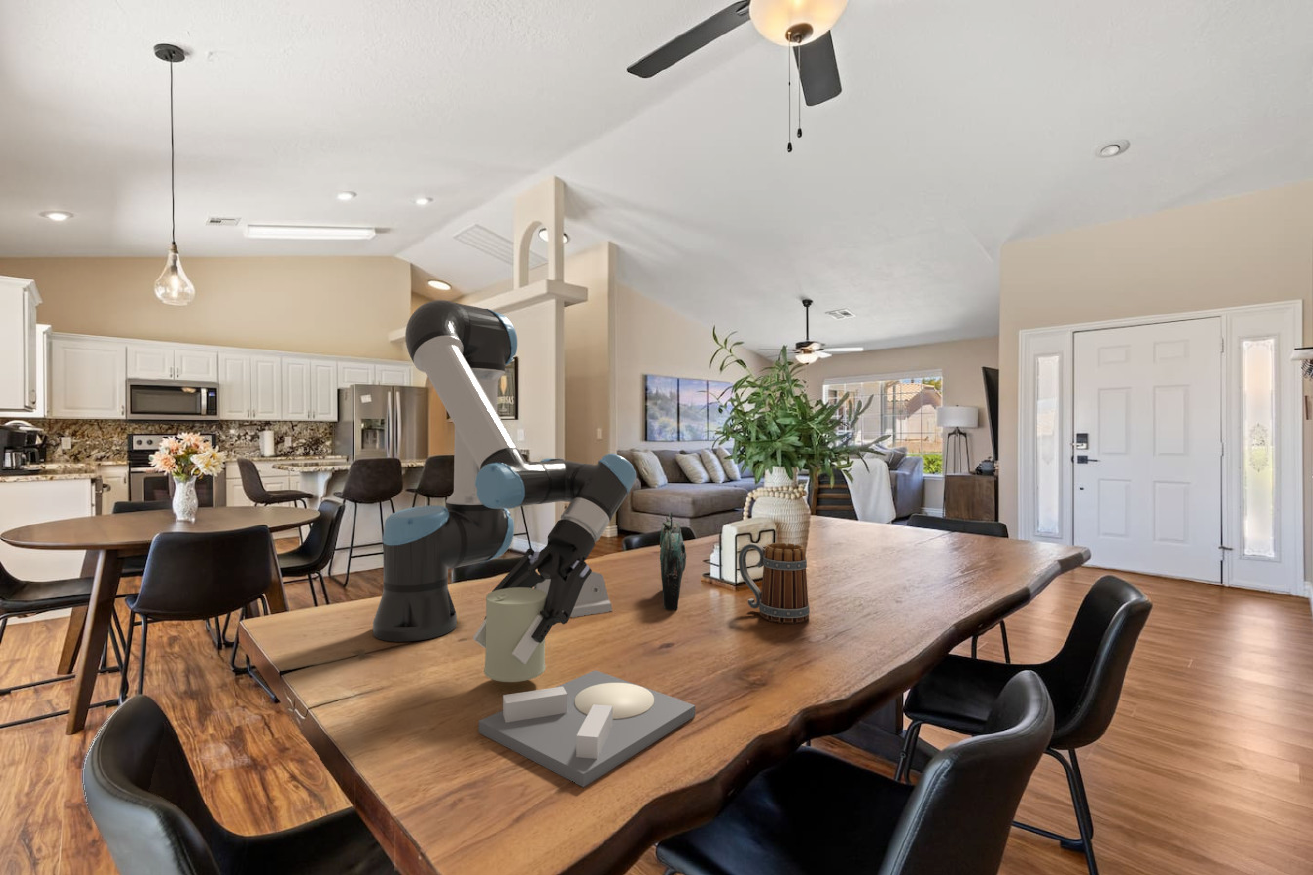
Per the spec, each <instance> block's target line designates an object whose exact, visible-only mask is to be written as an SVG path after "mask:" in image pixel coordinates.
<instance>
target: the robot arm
mask: <svg viewBox="0 0 1313 875" xmlns="http://www.w3.org/2000/svg"><path fill="white" fill-rule="evenodd" d="M404 338H405V340H404V341H405V345H406V349H407V352H408V355H409V357H410V359H411V361H412V363H413V365H414V366H415V368H416V369H417V370H418V371H419V372H423V373H425V374H426V376H427V379H428V380H429V381H430V383H431V384H432V386H433V389H434V390H435V392H436V394H437V396H438V398H439V399H440V402H441V403H442V405H443V407H444V409H445V411H446V412H447V413H448V416H449V418H450V419H451V421H452V423H453V425H454V457H453V458H454V466H453V468H454V469H453V470H454V471H453V492H452V494H451V495H450V496H449V497H448V498H447V499H446V500H445V501H446V502H445V506H444V505H439V504H438V505H436V504H435V505H432V504H431V505H424V506H413V507H409V508H405V509H402V510H398V511H395V512H393V513H391V514H390V515H389V516H388V517H387V518H386V519H385V521H384V528H383V535H382V542H383V589H382V590H383V592H382V595H381V598H380V601H379V604H378V608H377V610H376V612H375V616H374V619H373V622H372V635H373V636H374V637H375V638H376V639H379V640H382V641H386V642H399V643H401V642H402V643H403V642H407V643H408V642H417V641H424V640H429V639H435V638H438V637H441V636H443V635H447V634H448V633H451V632H452V631H454V630H455V629H456V627H457V625H458V624H457V623H458V620H457V617H458V615H457V612H456V607H455V605H454V601H453V599H452V596H451V593H450V591H449V586H448V585H449V584H448V582H449V581H448V577H449V570H450V569H456V568H460V567H465V566H469V565H475V564H484V563H487V562H490V561H491V560H494V559H498V558H500V557H502V556H503V555H504V554H505V553H506V552H507V551H508V549H509V548H510V547H511V544H512V542H513V539H514V533H515V523H514V519H513V517H511V515H512V514H511V511H509V510H511V509H514V508H518V507H523V506H531V505H542V504H543V505H544V504H550V503H560V502H566V503H567V502H568V503H569V504H568V505H567V507H566V508H565V510H564V511H563V513H562V514H561V515H560V520H558V521H557V522H556V523H555V524H554V526H553V528H552V529H551V530H550V531H549V533H548V536H547V544H546V546H544V547H543V549H541V550H540V551H534V549H533V548H532V547H529V548H528V549H527V550H526V551H525V553H524V554H523V556H522V558H521V559H520V560H519V561H518V562H517V563H516V565H514V567H513V568H512V569H511V570H510V571H509V572H508V573H507V574H506V575H505V576H504V578H503V579H502V580H501V581H500V582H499V583H498V584H497V585H496V587H494V589H493V590H492V591H491V592H493V591H496V590H499V589H505V588H515V587H525V588H534V586H535V585H536V584H538V583H542V582H544V581H545V580H546V579H547V580H548V579H551V581H550V585H549V590H548V594H547V598H546V602H545V606H544V611H542V612H541V611H540V614H541V615H542V616H543V618H542V617H541V616H540V615H537V617H536V618H535V619H534V621H533V622H532V624H531V625H530V627H529V628H528V630H527V631H526V633H525V634H524V636H523V637H522V639H521V640H520V642H519V643H518V645H517V646H516V648H515V650H514V651H513V653H512V655H513V656H515V657H516V658H517V659H518V660H519V661H520V662H521V663H523V664H526V663H527V661H528V659H529V658H530V656H531V655H532V653H533V651H534V650H535V648H536V647H537V645H538V644H539V643H541V642H542V641H543V640H544V638H545V639H546V637H547V635H548V634H549V632H550V630H551V629H552V627H553V626H555V625H556V624H562V625H565V624H568V622H569V619H571V618H570V615H571V613H572V610H573V608H574V606H575V603H576V601H577V598H578V596H579V594H580V591H581V589H582V586H583V584H584V582H585V580H586V579H587V578H588V576H589V575H590V574H591V572H593V570H592V568H591V567H590V565H588V563H587V562H586V560H587V559H588V557H589V555H590V554H591V553H592V551H593V549H594V548H595V546H596V543H597V542H598V541H600V540H599V539H600V538H601V537H602V536H603V533H604V532H605V530H606V529H607V527H608V526H609V525H610V524H609V523H611V521H612V519H613V517H614V516H615V514H616V512H617V511H618V509H619V508H620V507H621V505H622V504H623V502H624V501H625V500H626V498H627V496H628V495H630V492H631V490H632V488H633V486H634V484H635V482H636V480H637V476H638V475H637V471H636V469H635V468H634V465H633V464H632V463H631V462H630V461H629V460H627V459H626V458H625V457H623V456H621V455H618V454H616V453H607V454H605V455H603V456H602V457H601V459H599V460H598V462H597V464H591V463H589V464H588V463H581V462H577V461H572V460H571V461H570V460H565V459H564V458H547V457H546V458H544V459H542V460H540V461H527V460H526V459H525V458H524V456H523V454H522V452H521V451H520V450H519V448H518V446H517V444H516V443H515V441H514V439H513V438H512V436H511V434H510V432H509V431H508V429H507V428H506V425H505V424H504V422H503V420H502V419H501V417H500V415H499V414H498V390H499V388H498V387H499V385H498V384H499V383H498V382H499V380H500V379H501V378H502V377H504V375H505V374H506V366H508V365H509V364H511V363H512V361H513V360H514V356H516V354H517V350H518V337H517V332H516V328H515V327H514V325H513V323H512V322H511V320H510V319H509V318H508V317H507V316H506V315H504V314H502V313H500V312H496V311H493V310H492V309H489V308H482V307H478V306H477V307H476V306H473V305H468V304H462V303H456V302H453V301H449V300H442V299H441V300H440V299H437V300H431V301H428V302H426V303H424V304H422V305H420V306H419V307H418V308H417V309H416V310H414V312H413V313H412V314H411V316H410V317H409V319H408V321H407V324H406V327H405V336H404ZM536 570H537V571H536ZM569 575H570V576H569ZM563 611H564V612H563ZM472 639H473V640H474V641H475V642H476V643H477V644H478V645H479V646H481V647H482V648H484V649H486V615H485V617H484V620H483V622H482V623H481V625H480V626H479V627H478V629H477V631H476V632H475V633H474V634H473V636H472Z"/></svg>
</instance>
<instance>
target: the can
mask: <svg viewBox="0 0 1313 875" xmlns="http://www.w3.org/2000/svg"><path fill="white" fill-rule="evenodd" d="M492 591H493V590H492ZM492 591H491V592H489V593H488V594H487V595H486V596H485V599H486V600H485V601H486V603H485V604H486V608H485V612H486V613H485V616H486V648H485V656H484V657H485V658H484V659H485V661H484V669H483V674H484V675H485V676H486V677H487V678H488V679H490V680H492V681H497V682H502V683H520V682H525V681H526V682H527V681H529V680H532V679H535V678H537V677H539V676H541V675H543V673H545V671H546V660H545V659H546V656H545V655H546V653H545V652H546V646H545V644H546V637H545V638H544V640H543V641H542V642H541V643H539V644H538V645H537V647H536V648H535V650H534V651H533V653H532V655H531V656H530V658H529V659H528V661H527V663H526V664H523V663H521V662H520V661H519V660H518V659H517V658H516V657H515V656H513V655H512V653H513V651H514V650H515V648H516V646H517V645H518V643H519V642H520V640H521V639H522V637H523V636H524V634H525V633H526V631H527V630H528V628H529V627H530V625H531V624H532V622H533V621H534V619H535V618H536V617H537V615H540V616H541V617H542V618H543V616H542V615H541V614H540V611H541V612H542V611H544V606H545V602H546V598H547V594H546V593H545V592H544V591H542V590H539V589H535V588H534V587H533V588H525V587H515V588H505V589H499V590H496V591H493V592H492Z"/></svg>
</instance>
